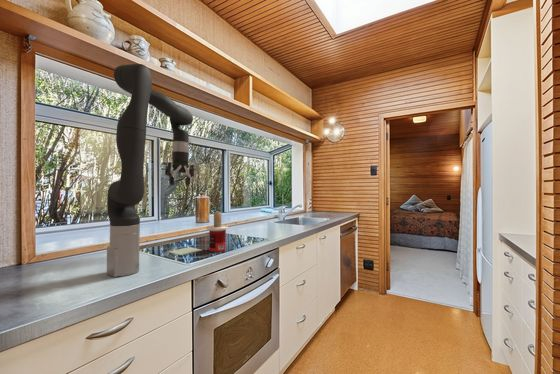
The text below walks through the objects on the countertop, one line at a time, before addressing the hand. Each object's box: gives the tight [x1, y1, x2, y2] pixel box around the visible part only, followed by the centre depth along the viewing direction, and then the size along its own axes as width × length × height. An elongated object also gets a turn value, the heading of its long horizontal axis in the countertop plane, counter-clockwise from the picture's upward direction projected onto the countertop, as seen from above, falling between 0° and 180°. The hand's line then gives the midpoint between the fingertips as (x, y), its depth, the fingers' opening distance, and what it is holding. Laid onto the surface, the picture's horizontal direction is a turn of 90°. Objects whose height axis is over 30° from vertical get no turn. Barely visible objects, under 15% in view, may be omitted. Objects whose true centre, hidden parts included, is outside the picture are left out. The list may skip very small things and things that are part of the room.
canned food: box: [208, 229, 227, 253], centre depth 124 cm, size 8×8×11 cm
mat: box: [168, 246, 202, 256], centre depth 122 cm, size 12×10×1 cm
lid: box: [206, 211, 229, 231], centre depth 124 cm, size 10×10×8 cm
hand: (180, 185), depth 123 cm, fingers open, 8 cm apart
